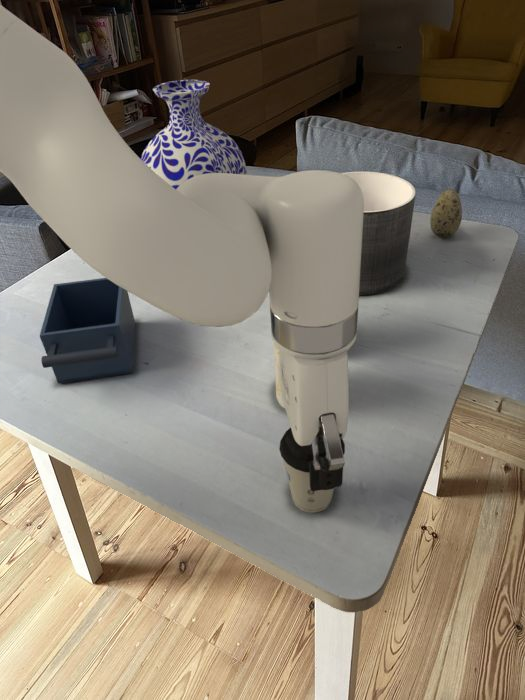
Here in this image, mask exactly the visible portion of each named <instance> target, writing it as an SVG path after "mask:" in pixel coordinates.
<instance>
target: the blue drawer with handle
mask: <svg viewBox="0 0 525 700" xmlns="http://www.w3.org/2000/svg"><path fill="white" fill-rule="evenodd" d="M135 323H136V320H135V316H134V313H133V307H132V304H131V299H130V295H129V292H128V291H127V290H125V289H123V288H121V287H120V286H118V285H116V284H115V283H113V282H112V281H110V280H109V279H107V278H105V277H102V278H93V279H85V280H77V281H69V282H61V283H54V284H53V287H52V290H51V294H50V298H49V300H48V304H47V309H46V312H45V315H44V319H43V321H42V325H41V329H40V331H39V338H40V340H41V343H42V346H43V348H44V351H45V353H46V355H42V356H41V358H40V359H41V361H40V362H41V365H42V367H43V368H44V369H48V368H51V370H52V372H53V374H54V376H55V379H56V381H57V384H58V385H59V384H66V383H73V382H79V381H86V380H95V379H100V378H108V377H114V376H115V377H116V376H121V375H131V374H133V366H134V347H135V346H134V345H135V344H134V343H135V326H136V325H135Z"/></svg>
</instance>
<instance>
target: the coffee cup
mask: <svg viewBox="0 0 525 700" xmlns="http://www.w3.org/2000/svg"><path fill="white" fill-rule="evenodd" d="M319 434H322V431H321V427H319V432H318V433H317V435H319ZM340 440H341V447H342V451H343V455H344V456H345V452H346V445H345V441H344V438H343V439H340ZM317 445H318V452H319V456H323V455H326V449H325V444H324V442H320V443H317ZM278 449H279V453H280V456H281V458H282V459H283V464H284V467H285V471H286V476H287V481H288V485H289V490H290V494H291V498H292V502H293V503H294V505H295V506H296V508H297V509H299V510H301V511H304V512H306V513H313V514H314V513H320V512H322V511H323V510H325V509H327V508H328V507H329V505H330V504H331V502H332V498H333V495H334V490H335V488H333V489H330V490H318V491H311V488H310V474H309V462H310V461H312V454H311V447H310V445H306V446H300V445H299V444H298V443H297V442H296V441H295V439H294V436H293V433H292V430H291V426H289V428H288V429H287V430H286V431H285V432H284V434H283V436H281V439H280V441H279V447H278Z"/></svg>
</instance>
